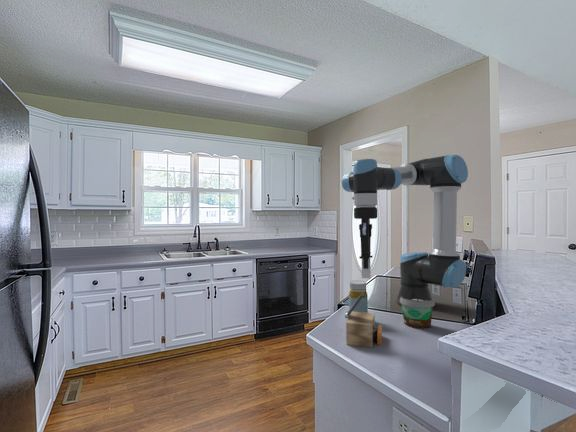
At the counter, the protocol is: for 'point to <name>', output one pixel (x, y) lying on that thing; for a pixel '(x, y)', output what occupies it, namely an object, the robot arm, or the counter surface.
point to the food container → (417, 312)
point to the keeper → (354, 305)
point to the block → (360, 329)
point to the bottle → (355, 292)
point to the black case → (377, 334)
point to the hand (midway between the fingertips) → (366, 277)
